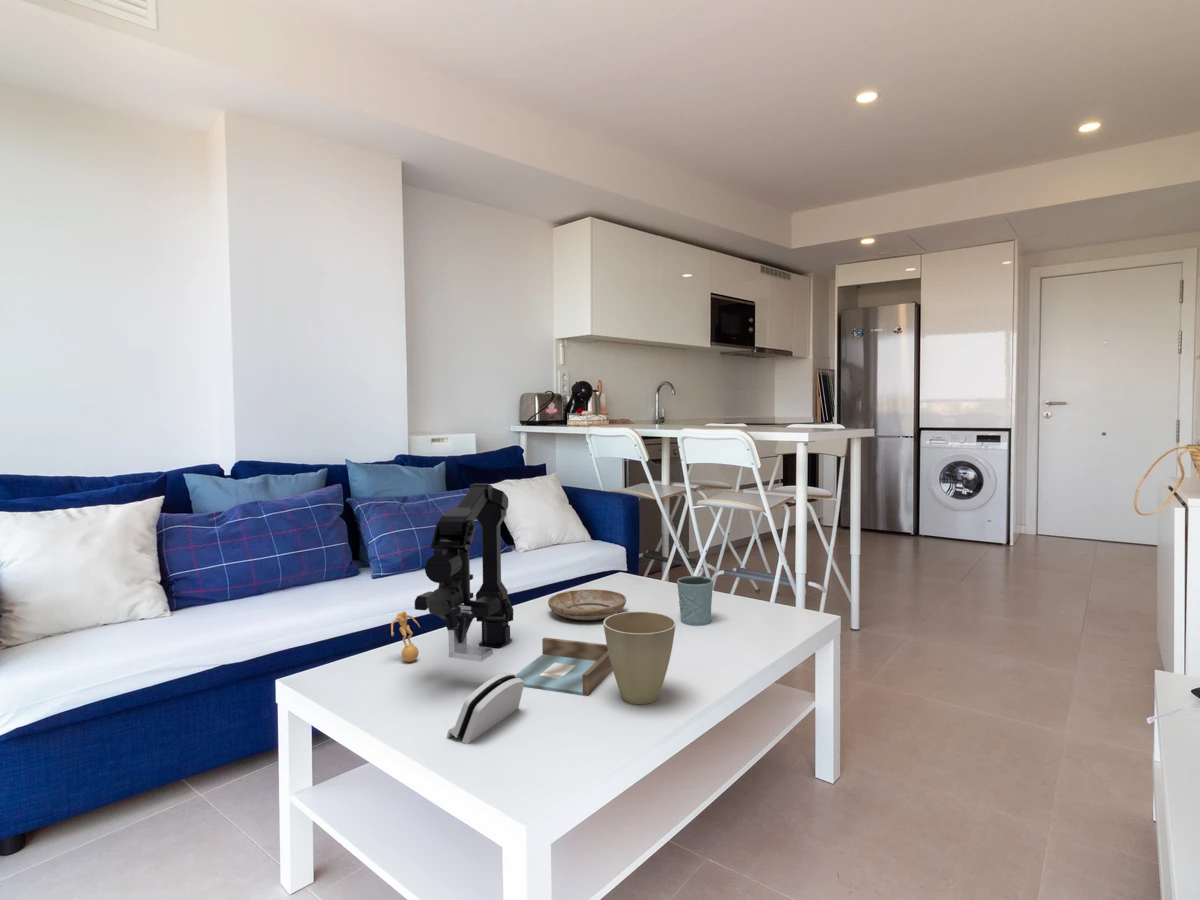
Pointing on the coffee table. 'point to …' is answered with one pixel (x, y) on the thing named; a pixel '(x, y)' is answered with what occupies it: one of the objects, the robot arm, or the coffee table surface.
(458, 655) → the aluminium bracket
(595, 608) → the ceramic bowl
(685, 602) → the embossed green cup
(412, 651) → the figurine
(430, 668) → the coffee table surface
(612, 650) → the plant pot
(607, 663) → the corner arena
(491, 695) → the grey arched casing
